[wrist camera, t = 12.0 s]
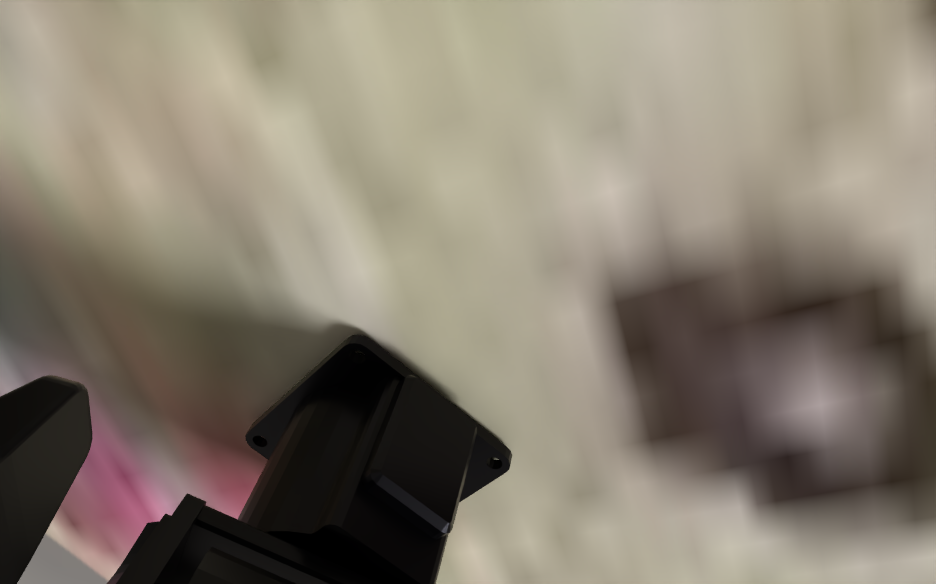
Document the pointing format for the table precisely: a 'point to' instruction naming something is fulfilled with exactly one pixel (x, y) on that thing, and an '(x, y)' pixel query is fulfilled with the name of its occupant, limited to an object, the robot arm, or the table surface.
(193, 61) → the table surface
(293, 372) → the table surface
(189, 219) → the table surface
